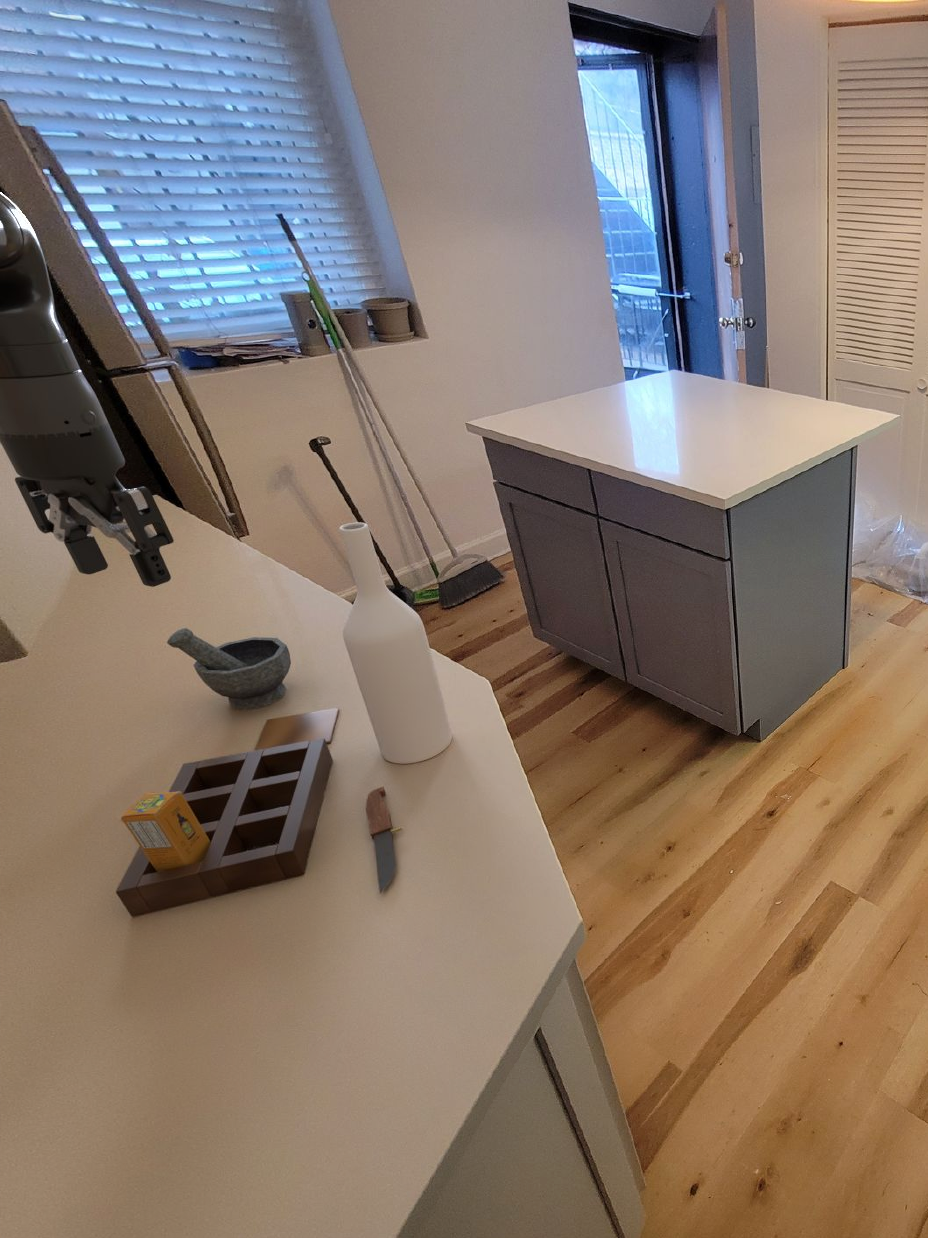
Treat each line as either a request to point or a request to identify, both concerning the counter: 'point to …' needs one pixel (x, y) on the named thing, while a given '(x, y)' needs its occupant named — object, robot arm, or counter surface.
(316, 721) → the coaster
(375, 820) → the knife
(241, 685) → the mortar and pestle
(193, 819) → the supplement box
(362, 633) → the bottle
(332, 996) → the counter surface
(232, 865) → the rack
